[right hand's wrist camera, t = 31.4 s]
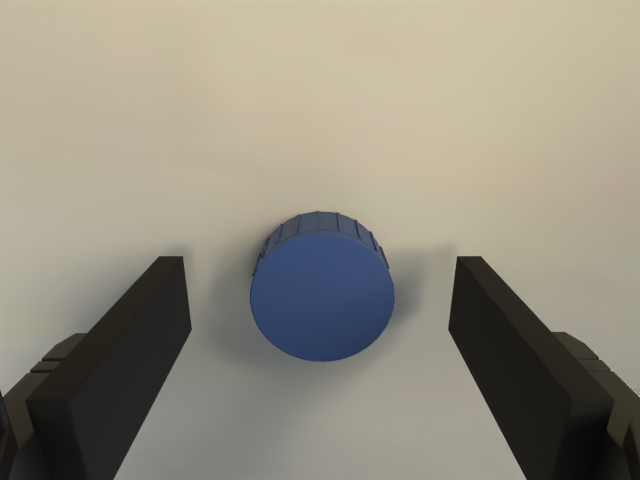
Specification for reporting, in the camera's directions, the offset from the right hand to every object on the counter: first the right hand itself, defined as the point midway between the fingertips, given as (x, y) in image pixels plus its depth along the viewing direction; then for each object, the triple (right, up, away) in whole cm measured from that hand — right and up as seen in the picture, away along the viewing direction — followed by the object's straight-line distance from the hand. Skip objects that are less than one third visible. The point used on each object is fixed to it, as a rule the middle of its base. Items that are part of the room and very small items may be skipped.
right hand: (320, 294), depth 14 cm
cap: (0, 0, 0) cm, 0 cm away
